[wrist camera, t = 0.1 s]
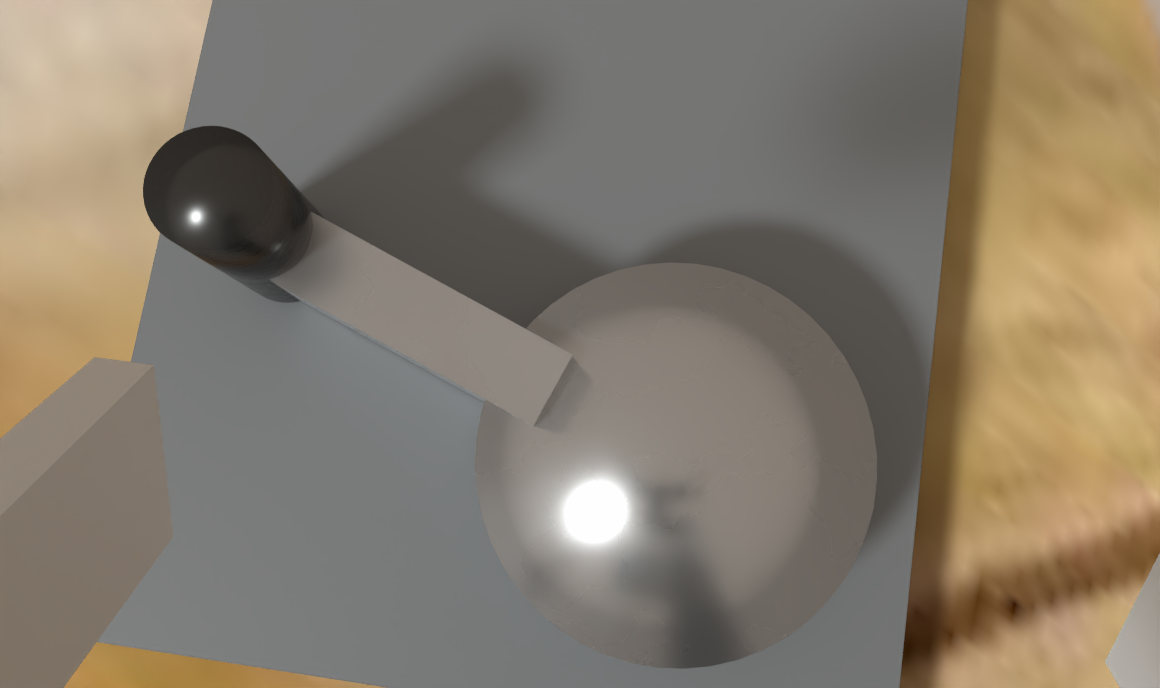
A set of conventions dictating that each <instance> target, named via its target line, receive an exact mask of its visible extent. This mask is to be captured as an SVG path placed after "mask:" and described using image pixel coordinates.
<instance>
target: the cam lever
mask: <svg viewBox="0 0 1160 688" xmlns="http://www.w3.org/2000/svg"><path fill="white" fill-rule="evenodd" d="M143 198H144V204H145V208H146V211H147V213H148V216H149V218H150V220H151V221H152V223H153V224H154V226H155V227H156V228H157V229H158V231H159V232H160V233H161V234H162V235H164V236H165V237H166V238H167V239H169V240H170V241H172V242H174V243H175V244H177V245H179V246H180V247H182V248H183V249H185V250H187V251H188V252H190V253H192V254H193V255H195V256H197V257H198V258H200V259H202V260H203V261H205V262H207V263H208V264H210V265H212V266H213V267H215V268H217V269H218V270H220V271H221V272H223V273H225V274H226V275H228V276H230V277H231V278H233V279H235V280H236V281H238V282H240V283H241V284H243V285H245V286H246V287H248V288H250V289H251V290H253V291H255V292H256V293H258V294H260V295H261V296H263V297H265V298H267V299H269V300H273V301H276V302H283V303H291V302H298V301H302V302H304V303H305V304H307V305H309V306H311V307H313V308H314V309H316V310H318V311H320V312H322V313H323V314H325V315H327V316H329V317H331V318H332V319H334V320H336V321H338V322H340V323H341V324H343V325H345V326H347V327H349V328H351V329H352V330H354V331H356V332H358V333H360V334H361V335H363V336H365V337H367V338H369V339H370V340H372V341H374V342H376V343H378V344H379V345H381V346H383V347H385V348H387V349H389V350H390V351H392V352H394V353H396V354H398V355H399V356H401V357H403V358H405V359H407V360H408V361H410V362H412V363H414V364H416V365H417V366H419V367H421V368H423V369H425V370H427V371H428V372H430V373H432V374H434V375H436V376H437V377H439V378H441V379H443V380H445V381H446V382H448V383H450V384H452V385H454V386H455V387H457V388H459V389H461V390H463V391H464V392H466V393H468V394H470V395H472V396H474V397H475V398H477V399H479V400H481V401H483V402H484V405H483V408H482V411H481V416H480V421H479V427H478V432H477V437H476V453H475V472H476V486H477V494H478V499H479V504H480V509H481V514H482V518H483V521H484V524H485V526H486V529H487V532H488V535H489V538H490V541H491V543H492V545H493V547H494V549H495V551H496V553H497V555H498V557H499V559H500V561H501V563H502V565H503V567H504V569H505V570H506V572H507V573H508V575H509V576H510V578H511V579H512V581H513V582H514V584H515V585H516V587H517V588H518V589H519V591H520V592H521V593H522V594H523V595H524V596H525V597H526V598H527V600H528V601H529V602H530V603H531V604H532V605H533V606H534V608H535V609H536V610H537V611H539V612H540V613H541V614H542V615H543V616H544V617H545V618H547V619H548V620H549V621H550V622H551V623H552V624H554V625H555V626H556V627H557V628H558V629H560V630H562V631H563V632H565V633H566V634H568V635H569V636H571V637H572V638H574V639H575V640H577V641H578V642H580V643H582V644H584V645H586V646H588V647H590V648H592V649H594V650H596V651H599V652H601V653H603V654H605V655H608V656H611V657H614V658H617V659H620V660H623V661H627V662H630V663H634V664H640V665H646V666H651V667H657V668H679V669H687V668H697V667H708V666H714V665H719V664H723V663H727V662H731V661H736V660H739V659H742V658H744V657H747V656H749V655H752V654H755V653H757V652H760V651H762V650H764V649H766V648H768V647H770V646H772V645H773V644H775V643H777V642H779V641H781V640H782V639H784V638H786V637H787V636H789V635H790V634H791V633H793V632H794V631H795V630H797V629H798V628H799V627H801V626H802V625H803V624H805V623H806V622H807V621H809V620H810V619H811V618H812V617H813V616H814V615H815V614H816V613H817V612H818V611H819V610H820V609H821V608H822V607H823V606H824V605H825V604H826V603H827V602H828V600H829V599H830V598H831V597H832V595H833V594H834V593H835V591H836V590H837V589H838V588H839V586H840V585H841V584H842V582H843V581H844V579H845V578H846V576H847V574H848V572H849V571H850V569H851V567H852V565H853V564H854V562H855V560H856V558H857V556H858V554H859V551H860V549H861V546H862V544H863V542H864V539H865V537H866V534H867V531H868V527H869V523H870V520H871V516H872V512H873V508H874V501H875V493H876V485H877V452H876V444H875V436H874V429H873V425H872V421H871V417H870V414H869V410H868V406H867V403H866V400H865V398H864V395H863V393H862V390H861V388H860V385H859V383H858V381H857V378H856V377H855V375H854V373H853V371H852V369H851V368H850V366H849V364H848V362H847V361H846V359H845V357H844V355H843V354H842V353H841V351H840V350H839V349H838V347H837V346H836V345H835V343H834V342H833V341H832V339H831V338H830V337H829V335H828V334H827V333H826V332H825V331H824V330H823V329H822V328H821V327H820V326H819V325H818V324H817V323H816V322H815V321H814V320H813V318H812V317H811V316H809V315H808V314H807V313H806V312H805V311H803V310H802V309H801V308H800V307H798V306H797V305H796V304H795V303H793V302H792V301H791V300H790V299H788V298H786V297H785V296H783V295H781V294H780V293H778V292H777V291H775V290H773V289H772V288H770V287H769V286H766V285H764V284H762V283H760V282H758V281H755V280H753V279H751V278H749V277H747V276H744V275H741V274H738V273H735V272H732V271H728V270H725V269H722V268H717V267H712V266H706V265H700V264H693V263H672V262H668V263H656V264H644V265H639V266H635V267H630V268H625V269H621V270H617V271H614V272H612V273H609V274H606V275H603V276H600V277H597V278H595V279H593V280H591V281H589V282H587V283H585V284H583V285H581V286H579V287H577V288H575V289H573V290H571V291H570V292H569V293H567V294H566V295H564V296H563V297H561V298H560V299H558V300H557V301H555V302H554V303H552V304H551V305H550V306H549V307H548V308H547V309H545V310H544V311H543V312H542V313H541V314H540V315H539V316H538V317H537V318H535V319H534V320H533V321H532V322H531V323H530V324H529V326H528V327H527V328H526V329H525V328H523V327H521V326H519V325H518V324H516V323H514V322H512V321H510V320H509V319H507V318H505V317H503V316H501V315H499V314H498V313H496V312H494V311H492V310H490V309H488V308H487V307H485V306H483V305H481V304H479V303H477V302H476V301H474V300H472V299H470V298H468V297H466V296H465V295H463V294H461V293H459V292H457V291H455V290H454V289H452V288H450V287H448V286H446V285H444V284H443V283H441V282H439V281H437V280H435V279H433V278H432V277H430V276H428V275H426V274H424V273H422V272H421V271H419V270H417V269H415V268H413V267H412V266H410V265H408V264H406V263H404V262H402V261H401V260H399V259H397V258H395V257H393V256H391V255H390V254H388V253H386V252H384V251H382V250H380V249H379V248H377V247H375V246H373V245H371V244H369V243H368V242H366V241H364V240H362V239H360V238H358V237H357V236H355V235H353V234H351V233H349V232H347V231H346V230H344V229H342V228H340V227H338V226H336V225H335V224H333V223H331V222H329V221H327V220H326V219H325V218H324V217H323V216H322V215H321V214H320V213H319V211H318V210H317V209H316V208H315V207H314V206H313V205H312V204H311V203H310V202H309V201H308V199H307V198H306V197H305V196H304V195H303V194H302V193H301V192H300V191H299V190H298V189H297V188H296V186H295V185H294V184H293V183H292V182H291V181H290V180H289V179H288V178H287V177H286V176H285V174H284V173H283V172H282V171H281V170H280V169H279V168H278V167H277V166H276V165H275V164H274V162H273V161H272V160H271V159H270V158H269V157H268V156H267V155H266V154H265V153H264V152H263V150H262V149H261V148H260V147H259V146H258V145H257V144H256V143H255V142H254V141H253V140H251V139H250V138H249V137H247V136H246V135H244V134H243V133H241V132H238V131H236V130H234V129H230V128H227V127H221V126H201V127H196V128H192V129H189V130H186V131H184V132H182V133H180V134H178V135H176V136H175V137H173V138H171V139H170V140H169V141H168V142H166V143H165V144H164V145H163V146H162V147H161V148H160V149H159V150H158V152H157V153H156V154H155V156H154V157H153V159H152V160H151V162H150V164H149V166H148V169H147V171H146V175H145V179H144V185H143Z"/></svg>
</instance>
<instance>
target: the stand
mask: <svg viewBox="0 0 1160 688" xmlns="http://www.w3.org/2000/svg"><path fill="white" fill-rule="evenodd" d="M967 3H968V0H213V1H212V6H211V10H210V15H209V19H208V24H207V28H206V32H205V37H204V41H203V46H202V50H201V54H200V59H199V63H198V68H197V72H196V77H195V81H194V85H193V90H192V94H191V99H190V103H189V108H188V112H187V116H186V121H185V125H184V130H183V132H184V131H186V130H189V129H192V128H196V127H201V126H221V127H227V128H230V129H234V130H236V131H238V132H241V133H243V134H244V135H246V136H247V137H249V138H250V139H251V140H253V141H254V142H255V143H256V144H257V145H258V146H259V147H260V148H261V149H262V150H263V152H264V153H265V154H266V155H267V156H268V157H269V158H270V159H271V160H272V161H273V162H274V164H275V165H276V166H277V167H278V168H279V169H280V170H281V171H282V172H283V173H284V174H285V176H286V177H287V178H288V179H289V180H290V181H291V182H292V183H293V184H294V185H295V186H296V188H297V189H298V190H299V191H300V192H301V193H302V194H303V195H304V196H305V197H306V198H307V199H308V201H309V202H310V203H311V204H312V205H313V206H314V207H315V208H316V209H317V210H318V211H319V213H320V214H321V215H322V216H323V217H324V218H325V219H326V220H327V221H329V222H331V223H333V224H335V225H336V226H338V227H340V228H342V229H344V230H346V231H347V232H349V233H351V234H353V235H355V236H357V237H358V238H360V239H362V240H364V241H366V242H368V243H369V244H371V245H373V246H375V247H377V248H379V249H380V250H382V251H384V252H386V253H388V254H390V255H391V256H393V257H395V258H397V259H399V260H401V261H402V262H404V263H406V264H408V265H410V266H412V267H413V268H415V269H417V270H419V271H421V272H422V273H424V274H426V275H428V276H430V277H432V278H433V279H435V280H437V281H439V282H441V283H443V284H444V285H446V286H448V287H450V288H452V289H454V290H455V291H457V292H459V293H461V294H463V295H465V296H466V297H468V298H470V299H472V300H474V301H476V302H477V303H479V304H481V305H483V306H485V307H487V308H488V309H490V310H492V311H494V312H496V313H498V314H499V315H501V316H503V317H505V318H507V319H509V320H510V321H512V322H514V323H516V324H518V325H519V326H521V327H523V328H525V329H526V328H527V327H528V326H529V324H530V323H531V322H532V321H533V320H534V319H535V318H537V317H538V316H539V315H540V314H541V313H542V312H543V311H544V310H545V309H547V308H548V307H549V306H550V305H551V304H552V303H554V302H555V301H557V300H558V299H560V298H561V297H563V296H564V295H566V294H567V293H569V292H570V291H571V290H573V289H575V288H577V287H579V286H581V285H583V284H585V283H587V282H589V281H591V280H593V279H595V278H597V277H600V276H603V275H606V274H609V273H612V272H614V271H617V270H621V269H625V268H630V267H635V266H639V265H644V264H656V263H668V262H672V263H693V264H700V265H706V266H712V267H717V268H722V269H725V270H728V271H732V272H735V273H738V274H741V275H744V276H747V277H749V278H751V279H753V280H755V281H758V282H760V283H762V284H764V285H766V286H769V287H770V288H772V289H773V290H775V291H777V292H778V293H780V294H781V295H783V296H785V297H786V298H788V299H790V300H791V301H792V302H793V303H795V304H796V305H797V306H798V307H800V308H801V309H802V310H803V311H805V312H806V313H807V314H808V315H809V316H811V317H812V318H813V320H814V321H815V322H816V323H817V324H818V325H819V326H820V327H821V328H822V329H823V330H824V331H825V332H826V333H827V334H828V335H829V337H830V338H831V339H832V341H833V342H834V343H835V345H836V346H837V347H838V349H839V350H840V351H841V353H842V354H843V355H844V357H845V359H846V361H847V362H848V364H849V366H850V368H851V369H852V371H853V373H854V375H855V377H856V378H857V381H858V383H859V385H860V388H861V390H862V393H863V395H864V398H865V400H866V403H867V406H868V410H869V414H870V417H871V421H872V425H873V429H874V436H875V444H876V452H877V485H876V493H875V501H874V508H873V512H872V516H871V520H870V523H869V527H868V531H867V534H866V537H865V539H864V542H863V544H862V546H861V549H860V551H859V554H858V556H857V558H856V560H855V562H854V564H853V565H852V567H851V569H850V571H849V572H848V574H847V576H846V578H845V579H844V581H843V582H842V584H841V585H840V586H839V588H838V589H837V590H836V591H835V593H834V594H833V595H832V597H831V598H830V599H829V600H828V602H827V603H826V604H825V605H824V606H823V607H822V608H821V609H820V610H819V611H818V612H817V613H816V614H815V615H814V616H813V617H812V618H811V619H810V620H809V621H807V622H806V623H805V624H803V625H802V626H801V627H799V628H798V629H797V630H795V631H794V632H793V633H791V634H790V635H789V636H787V637H786V638H784V639H782V640H781V641H779V642H777V643H775V644H773V645H772V646H770V647H768V648H766V649H764V650H762V651H760V652H757V653H755V654H752V655H749V656H747V657H744V658H742V659H739V660H736V661H731V662H727V663H723V664H719V665H714V666H708V667H697V668H687V669H679V668H657V667H651V666H646V665H640V664H634V663H630V662H627V661H623V660H620V659H617V658H614V657H611V656H608V655H605V654H603V653H601V652H599V651H596V650H594V649H592V648H590V647H588V646H586V645H584V644H582V643H580V642H578V641H577V640H575V639H574V638H572V637H571V636H569V635H568V634H566V633H565V632H563V631H562V630H560V629H558V628H557V627H556V626H555V625H554V624H552V623H551V622H550V621H549V620H548V619H547V618H545V617H544V616H543V615H542V614H541V613H540V612H539V611H537V610H536V609H535V608H534V606H533V605H532V604H531V603H530V602H529V601H528V600H527V598H526V597H525V596H524V595H523V594H522V593H521V592H520V591H519V589H518V588H517V587H516V585H515V584H514V582H513V581H512V579H511V578H510V576H509V575H508V573H507V572H506V570H505V569H504V567H503V565H502V563H501V561H500V559H499V557H498V555H497V553H496V551H495V549H494V547H493V545H492V543H491V541H490V538H489V535H488V532H487V529H486V526H485V524H484V521H483V518H482V514H481V509H480V504H479V499H478V494H477V486H476V472H475V453H476V437H477V432H478V427H479V421H480V416H481V411H482V408H483V405H484V402H483V401H481V400H479V399H477V398H475V397H474V396H472V395H470V394H468V393H466V392H464V391H463V390H461V389H459V388H457V387H455V386H454V385H452V384H450V383H448V382H446V381H445V380H443V379H441V378H439V377H437V376H436V375H434V374H432V373H430V372H428V371H427V370H425V369H423V368H421V367H419V366H417V365H416V364H414V363H412V362H410V361H408V360H407V359H405V358H403V357H401V356H399V355H398V354H396V353H394V352H392V351H390V350H389V349H387V348H385V347H383V346H381V345H379V344H378V343H376V342H374V341H372V340H370V339H369V338H367V337H365V336H363V335H361V334H360V333H358V332H356V331H354V330H352V329H351V328H349V327H347V326H345V325H343V324H341V323H340V322H338V321H336V320H334V319H332V318H331V317H329V316H327V315H325V314H323V313H322V312H320V311H318V310H316V309H314V308H313V307H311V306H309V305H307V304H305V303H304V302H302V301H298V302H291V303H283V302H276V301H273V300H269V299H267V298H265V297H263V296H261V295H260V294H258V293H256V292H255V291H253V290H251V289H250V288H248V287H246V286H245V285H243V284H241V283H240V282H238V281H236V280H235V279H233V278H231V277H230V276H228V275H226V274H225V273H223V272H221V271H220V270H218V269H217V268H215V267H213V266H212V265H210V264H208V263H207V262H205V261H203V260H202V259H200V258H198V257H197V256H195V255H193V254H192V253H190V252H188V251H187V250H185V249H183V248H182V247H180V246H179V245H177V244H175V243H174V242H172V241H170V240H169V239H167V238H166V237H165V236H164V235H162V234H161V233H160V236H159V240H158V245H157V249H156V254H155V258H154V262H153V267H152V271H151V276H150V280H149V285H148V289H147V293H146V298H145V302H144V307H143V311H142V316H141V320H140V324H139V329H138V333H137V338H136V342H135V346H134V351H133V355H132V360H131V362H135V363H142V364H150V365H154V370H155V379H156V388H157V397H158V406H159V415H160V424H161V433H162V442H163V450H164V459H165V468H166V477H167V486H168V495H169V504H170V513H171V522H172V531H173V537H172V539H171V540H170V541H169V543H168V544H167V545H166V547H165V548H164V550H163V551H162V552H161V554H160V555H159V557H158V558H157V559H156V561H155V562H154V563H153V565H152V566H151V568H150V569H149V570H148V572H147V573H146V574H145V576H144V577H143V579H142V580H141V581H140V583H139V584H138V585H137V587H136V588H135V590H134V591H133V592H132V594H131V595H130V596H129V598H128V599H127V601H126V602H125V603H124V605H123V606H122V608H121V609H120V610H119V612H118V613H117V614H116V616H115V617H114V619H113V620H112V621H111V623H110V624H109V625H108V627H107V628H106V630H105V631H104V632H103V634H102V635H101V636H100V638H99V639H98V641H97V642H100V643H107V644H113V645H120V646H126V647H132V648H139V649H145V650H151V651H158V652H164V653H171V654H177V655H183V656H190V657H196V658H202V659H209V660H215V661H222V662H228V663H234V664H241V665H247V666H254V667H260V668H266V669H273V670H279V671H285V672H292V673H298V674H305V675H311V676H317V677H324V678H330V679H336V680H343V681H349V682H356V683H362V684H368V685H375V686H381V687H388V688H899V687H900V677H901V667H902V657H903V647H904V637H905V627H906V617H907V607H908V596H909V586H910V576H911V566H912V556H913V546H914V536H915V526H916V516H917V506H918V496H919V486H920V476H921V466H922V456H923V446H924V436H925V426H926V416H927V405H928V395H929V385H930V375H931V365H932V355H933V345H934V335H935V325H936V315H937V305H938V295H939V285H940V275H941V265H942V255H943V245H944V235H945V225H946V214H947V204H948V194H949V184H950V174H951V164H952V154H953V144H954V134H955V124H956V114H957V104H958V94H959V84H960V74H961V64H962V54H963V44H964V34H965V23H966V13H967Z"/></svg>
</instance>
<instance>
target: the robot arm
mask: <svg viewBox="0 0 1160 688" xmlns="http://www.w3.org/2000/svg"><path fill="white" fill-rule="evenodd" d="M172 537H173V531H172V522H171V513H170V504H169V495H168V486H167V477H166V468H165V459H164V450H163V442H162V433H161V424H160V415H159V406H158V397H157V388H156V379H155V370H154V365H150V364H142V363H135V362H127V361H119V360H112V359H104V358H97V357H94V358H93V359H92V360H91V361H90V362H88V363H87V364H86V365H85V366H84V367H83V368H82V369H80V370H79V371H78V372H77V373H76V374H75V375H73V376H72V377H71V378H70V379H69V380H68V381H66V382H65V383H64V384H63V385H62V386H61V387H60V388H58V389H57V390H56V391H55V392H54V393H53V394H51V395H50V396H49V397H48V398H47V399H46V400H44V401H43V402H42V403H41V404H40V405H39V406H38V407H36V408H35V409H34V410H33V411H32V412H31V413H29V414H28V415H27V416H26V417H25V418H24V419H22V420H21V421H20V422H19V423H18V424H17V425H16V426H14V427H13V428H12V429H11V430H10V431H9V432H7V433H6V434H5V435H4V436H3V437H2V438H0V688H63V687H64V686H65V685H66V683H67V682H68V681H69V679H70V678H71V676H72V675H73V674H74V672H75V671H76V670H77V668H78V667H79V665H80V664H81V663H82V661H83V660H84V659H85V657H86V656H87V654H88V653H89V652H90V650H91V649H92V647H93V646H94V645H95V643H96V642H97V641H98V639H99V638H100V636H101V635H102V634H103V632H104V631H105V630H106V628H107V627H108V625H109V624H110V623H111V621H112V620H113V619H114V617H115V616H116V614H117V613H118V612H119V610H120V609H121V608H122V606H123V605H124V603H125V602H126V601H127V599H128V598H129V596H130V595H131V594H132V592H133V591H134V590H135V588H136V587H137V585H138V584H139V583H140V581H141V580H142V579H143V577H144V576H145V574H146V573H147V572H148V570H149V569H150V568H151V566H152V565H153V563H154V562H155V561H156V559H157V558H158V557H159V555H160V554H161V552H162V551H163V550H164V548H165V547H166V545H167V544H168V543H169V541H170V540H171V539H172ZM1105 663H1106V664H1107V666H1108V668H1109V670H1110V671H1111V673H1112V675H1113V677H1114V678H1115V680H1116V682H1117V683H1118V685H1119V687H1120V688H1160V554H1159V556H1158V558H1157V560H1156V562H1155V564H1154V565H1153V567H1152V569H1151V571H1150V573H1149V575H1148V577H1147V579H1146V581H1145V583H1144V585H1143V587H1142V589H1141V591H1140V593H1139V595H1138V597H1137V599H1136V601H1135V603H1134V605H1133V607H1132V609H1131V611H1130V613H1129V615H1128V617H1127V619H1126V621H1125V623H1124V625H1123V627H1122V629H1121V631H1120V633H1119V635H1118V637H1117V639H1116V641H1115V643H1114V645H1113V647H1112V649H1111V651H1110V653H1109V655H1108V657H1107V659H1106V661H1105Z"/></svg>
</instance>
